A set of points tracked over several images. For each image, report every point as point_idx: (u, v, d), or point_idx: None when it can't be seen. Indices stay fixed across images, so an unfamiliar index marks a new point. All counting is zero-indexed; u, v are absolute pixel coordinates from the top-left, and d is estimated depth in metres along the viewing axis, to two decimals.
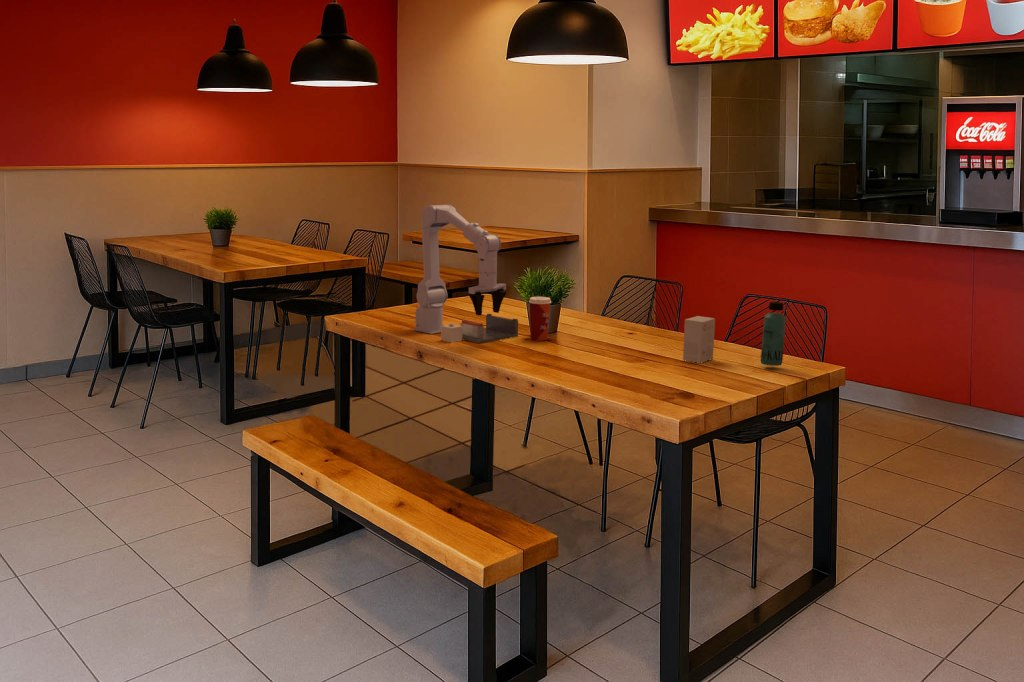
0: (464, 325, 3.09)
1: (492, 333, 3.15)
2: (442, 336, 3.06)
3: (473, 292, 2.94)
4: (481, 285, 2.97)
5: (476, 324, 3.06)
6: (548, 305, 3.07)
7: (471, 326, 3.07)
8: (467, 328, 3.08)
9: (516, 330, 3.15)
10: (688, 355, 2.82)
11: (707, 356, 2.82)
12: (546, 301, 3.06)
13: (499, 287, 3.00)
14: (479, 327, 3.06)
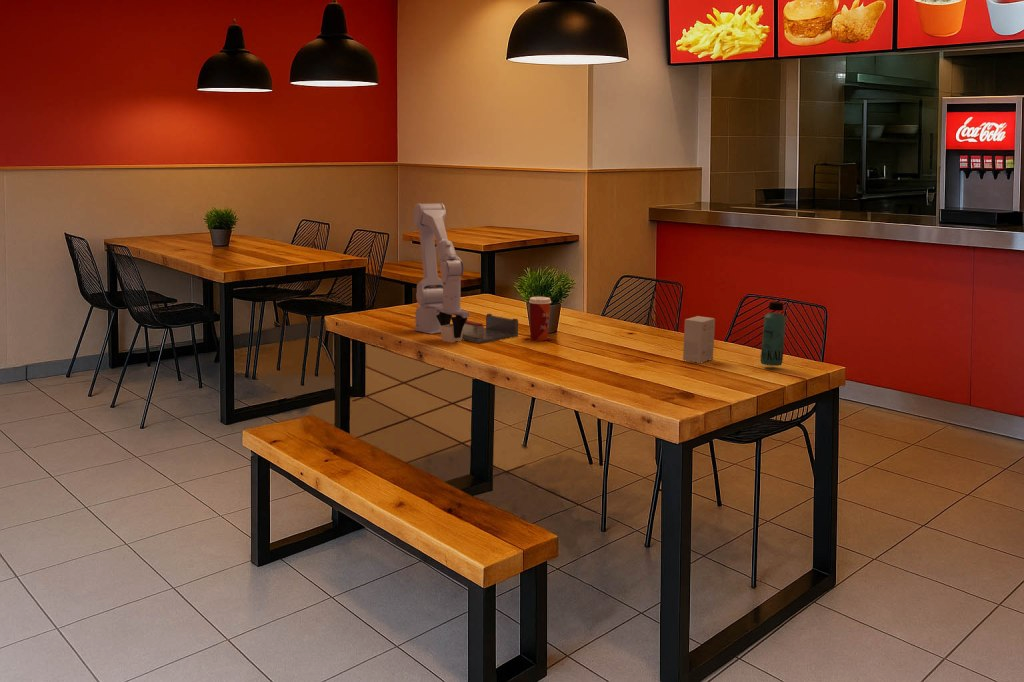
0: (464, 325, 3.09)
1: (492, 333, 3.15)
2: (442, 336, 3.06)
3: (435, 310, 3.09)
4: None
5: (476, 324, 3.06)
6: (548, 305, 3.07)
7: (471, 326, 3.07)
8: (467, 328, 3.08)
9: (516, 330, 3.15)
10: (688, 355, 2.82)
11: (707, 356, 2.82)
12: (546, 301, 3.06)
13: (454, 313, 3.01)
14: (479, 327, 3.06)
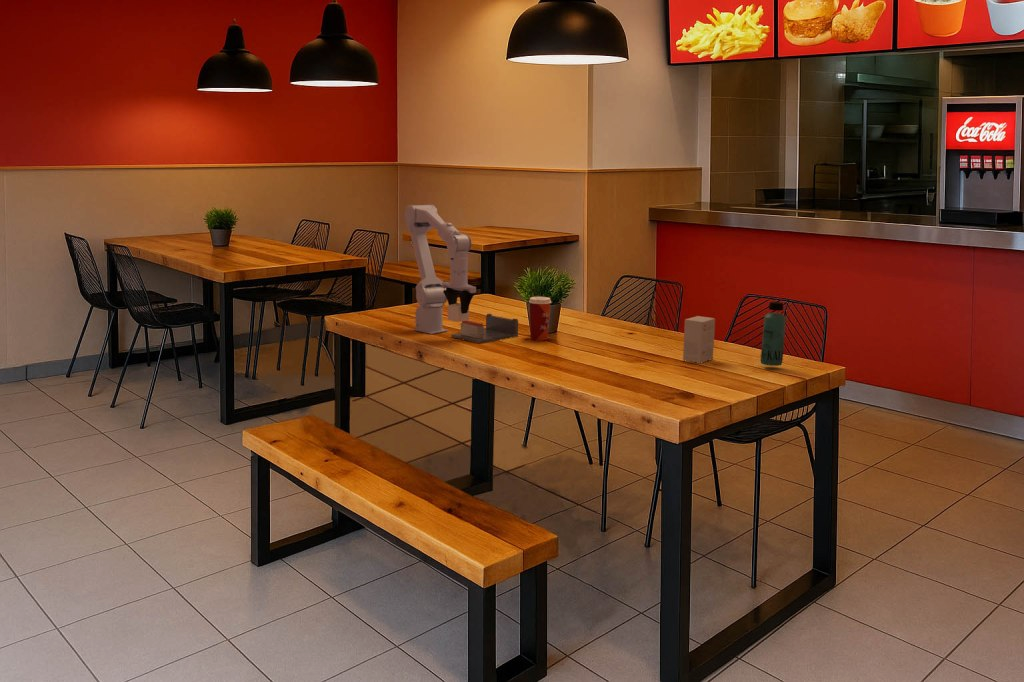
0: (464, 325, 3.09)
1: (492, 333, 3.15)
2: (449, 315, 3.06)
3: (442, 286, 3.09)
4: None
5: (476, 324, 3.06)
6: (548, 305, 3.07)
7: (471, 326, 3.07)
8: (467, 328, 3.08)
9: (516, 330, 3.15)
10: (688, 355, 2.82)
11: (707, 356, 2.82)
12: (546, 301, 3.06)
13: (461, 288, 3.01)
14: (479, 327, 3.06)
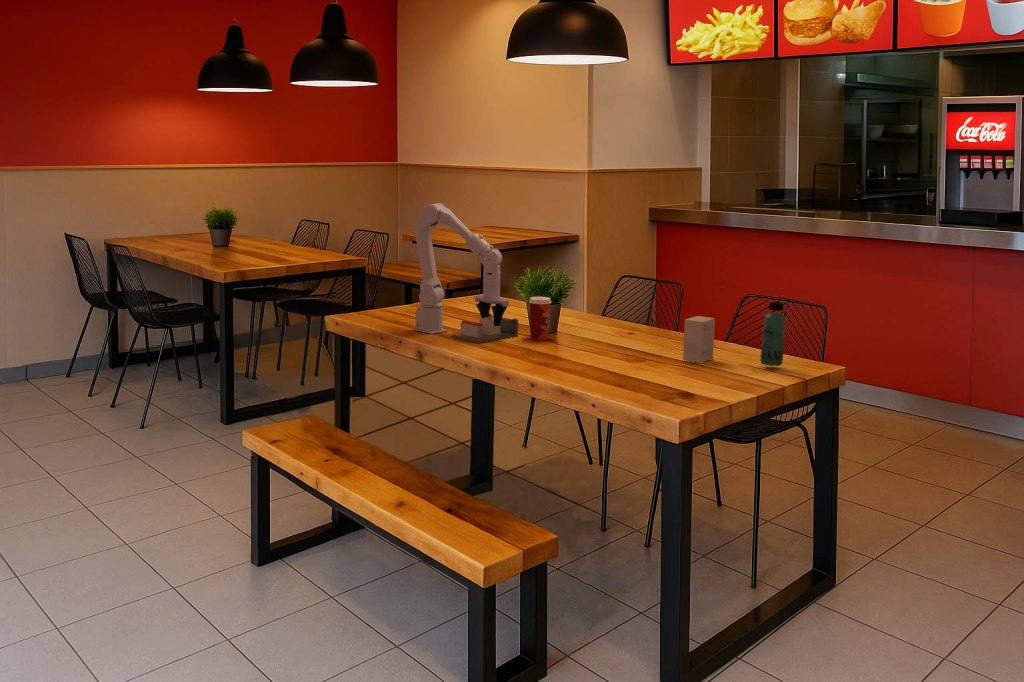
0: (464, 325, 3.09)
1: None
2: None
3: (475, 300, 3.18)
4: None
5: (476, 324, 3.06)
6: (548, 305, 3.07)
7: (471, 326, 3.07)
8: (467, 328, 3.08)
9: (516, 330, 3.15)
10: (688, 355, 2.82)
11: (707, 356, 2.82)
12: (546, 301, 3.06)
13: (494, 301, 3.10)
14: (479, 327, 3.06)
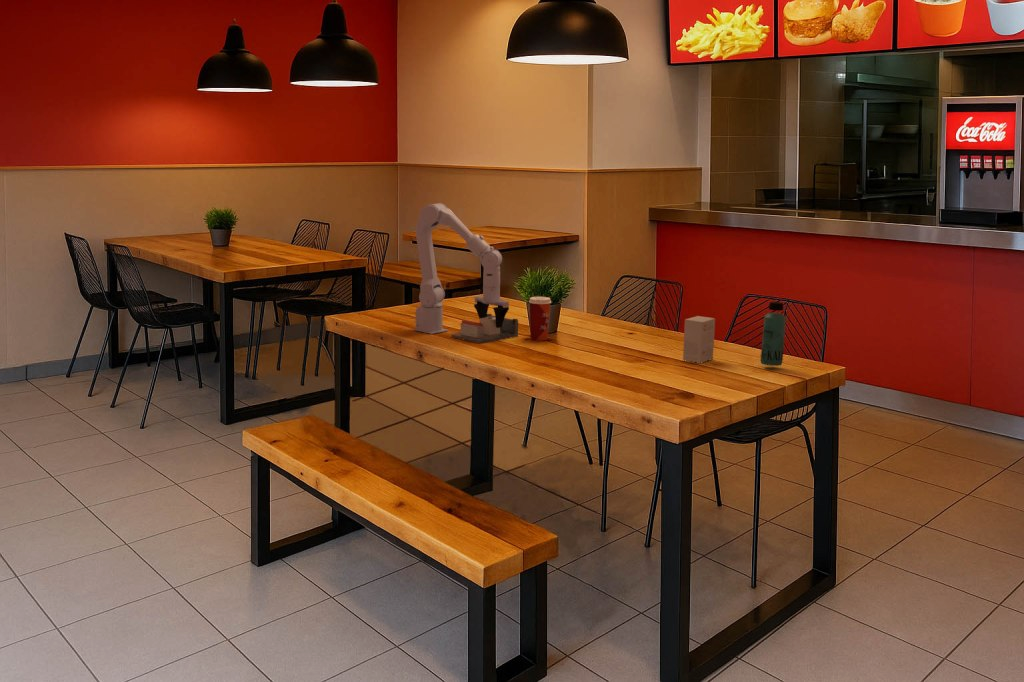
0: (464, 325, 3.09)
1: None
2: None
3: (475, 301, 3.18)
4: None
5: (476, 324, 3.06)
6: (548, 305, 3.07)
7: (471, 326, 3.07)
8: (467, 328, 3.08)
9: (516, 330, 3.15)
10: (688, 355, 2.82)
11: (707, 356, 2.82)
12: (546, 301, 3.06)
13: (494, 302, 3.10)
14: (479, 327, 3.06)
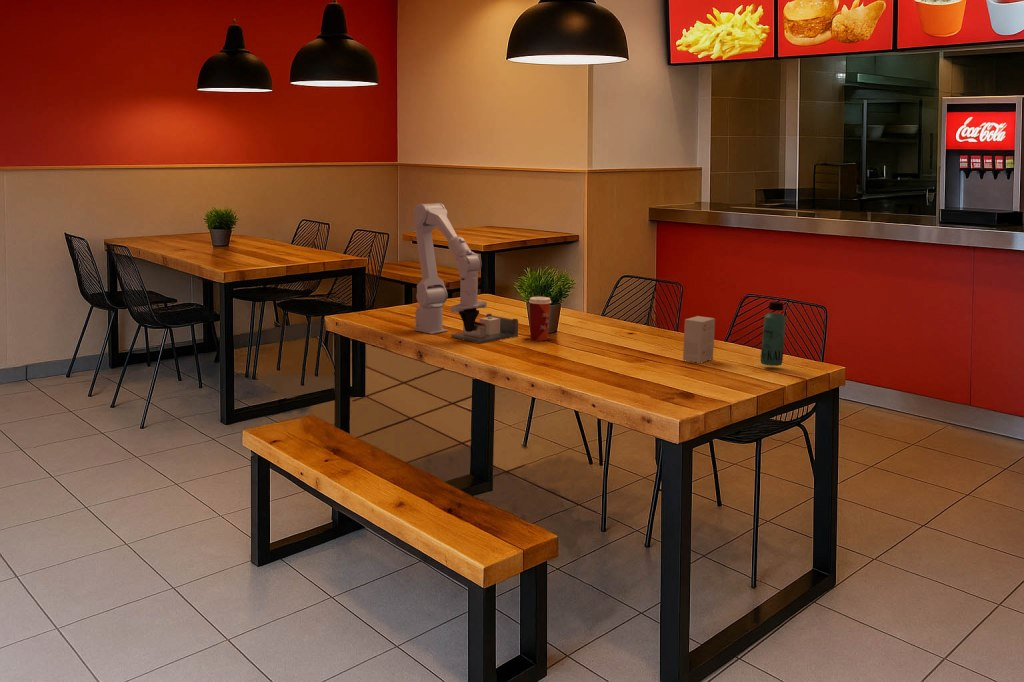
0: None
1: None
2: None
3: (455, 311, 3.01)
4: (463, 304, 3.04)
5: (479, 323, 3.07)
6: (548, 305, 3.07)
7: (474, 326, 3.08)
8: None
9: (516, 330, 3.15)
10: (688, 355, 2.82)
11: (707, 356, 2.82)
12: (546, 301, 3.06)
13: (480, 305, 3.07)
14: (482, 327, 3.06)
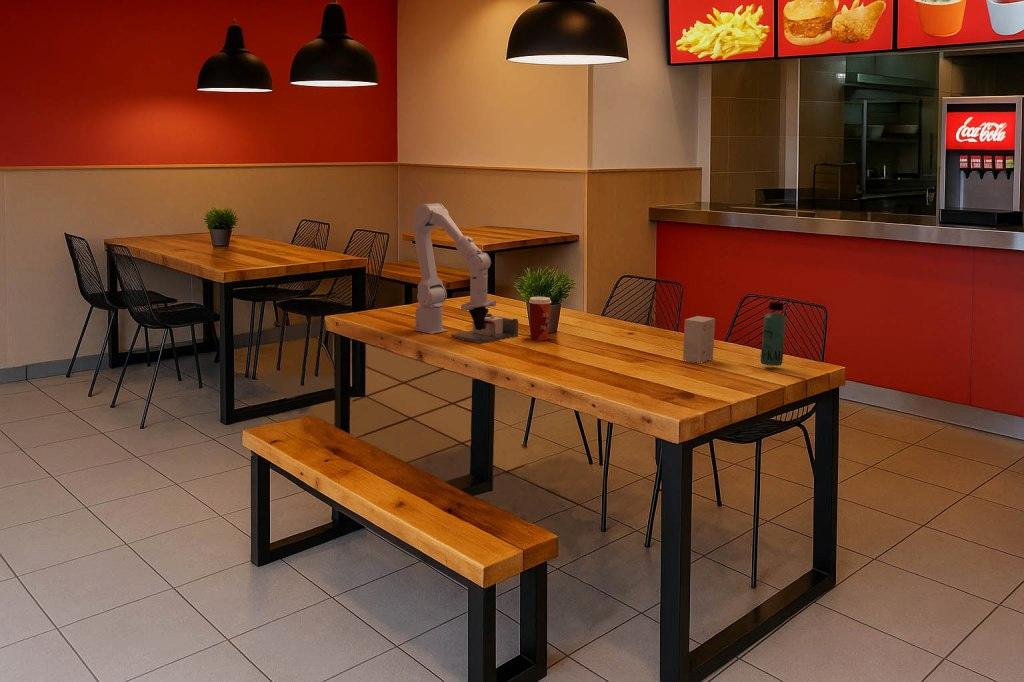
0: None
1: None
2: None
3: (465, 309, 3.04)
4: (472, 302, 3.07)
5: (488, 322, 3.10)
6: (548, 305, 3.07)
7: (483, 324, 3.11)
8: None
9: (516, 330, 3.15)
10: (688, 355, 2.82)
11: (707, 356, 2.82)
12: (546, 301, 3.06)
13: (489, 304, 3.10)
14: (491, 325, 3.10)
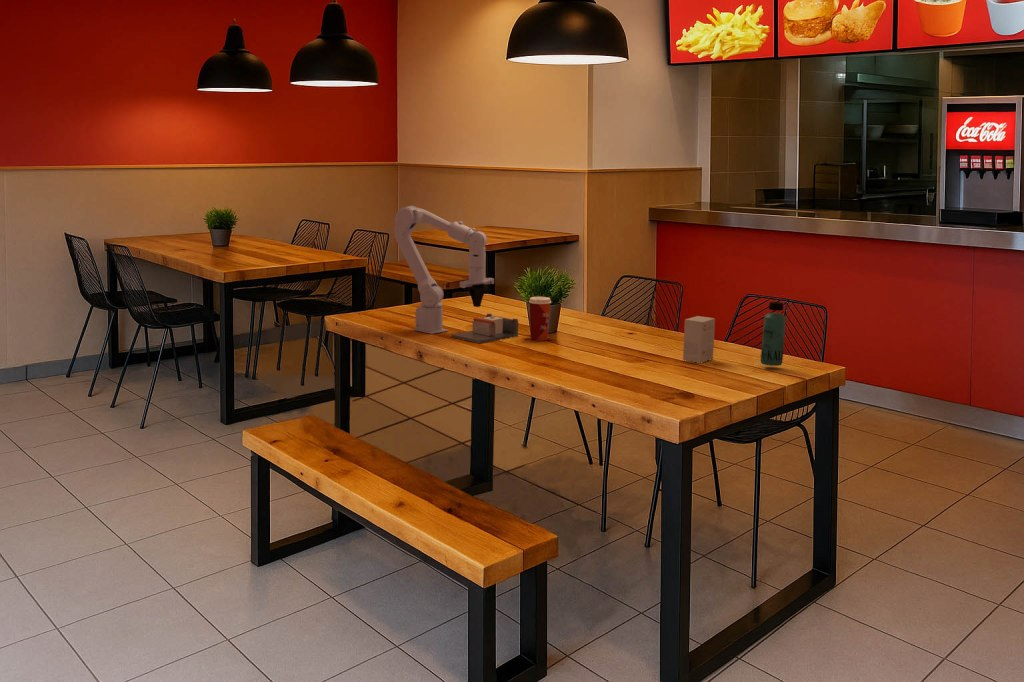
0: (476, 323, 3.13)
1: None
2: None
3: (464, 286, 3.10)
4: (471, 279, 3.13)
5: (488, 322, 3.10)
6: (548, 305, 3.07)
7: (483, 324, 3.11)
8: (479, 326, 3.12)
9: (516, 330, 3.15)
10: (688, 355, 2.82)
11: (707, 356, 2.82)
12: (546, 301, 3.06)
13: (488, 281, 3.17)
14: (491, 325, 3.10)
